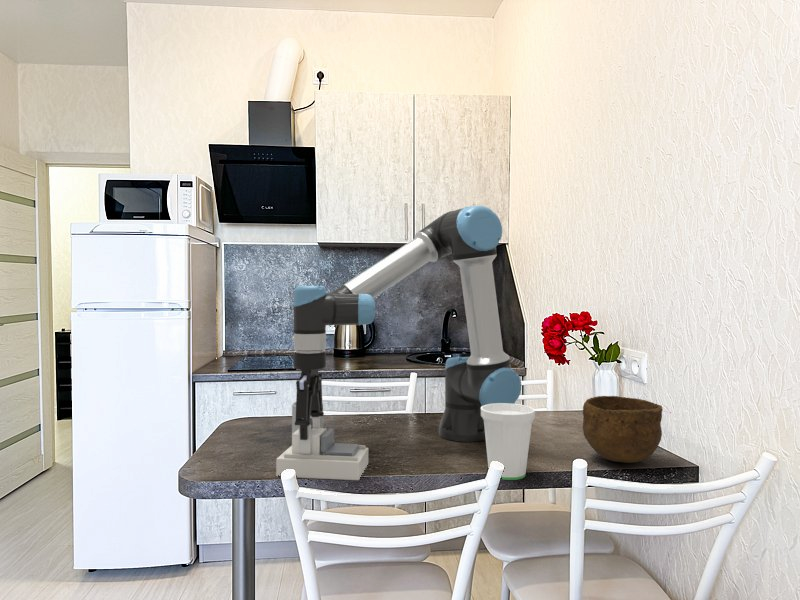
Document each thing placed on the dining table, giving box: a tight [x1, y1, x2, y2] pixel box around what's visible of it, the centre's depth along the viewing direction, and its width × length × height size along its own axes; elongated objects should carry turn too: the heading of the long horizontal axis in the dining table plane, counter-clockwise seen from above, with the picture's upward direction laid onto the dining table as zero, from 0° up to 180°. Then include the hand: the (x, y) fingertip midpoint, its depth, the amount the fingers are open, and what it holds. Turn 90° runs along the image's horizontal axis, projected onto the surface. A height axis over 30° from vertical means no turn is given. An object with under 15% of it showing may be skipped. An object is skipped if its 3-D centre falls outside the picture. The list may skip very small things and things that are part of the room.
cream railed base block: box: [275, 444, 369, 481], centre depth 136 cm, size 19×12×5 cm, turn 83°
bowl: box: [582, 395, 664, 464], centre depth 144 cm, size 19×19×15 cm
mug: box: [291, 401, 324, 435], centre depth 161 cm, size 12×8×11 cm
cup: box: [481, 403, 536, 481], centre depth 134 cm, size 12×12×15 cm
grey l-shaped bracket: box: [321, 428, 360, 456], centre depth 136 cm, size 7×8×5 cm
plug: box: [291, 418, 328, 455], centre depth 137 cm, size 6×6×12 cm
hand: (309, 448), depth 137 cm, fingers open, 7 cm apart
